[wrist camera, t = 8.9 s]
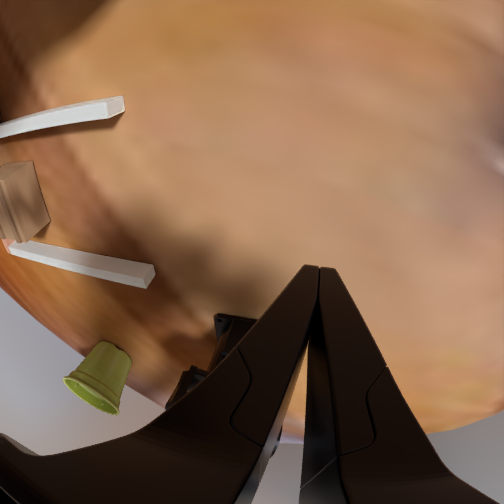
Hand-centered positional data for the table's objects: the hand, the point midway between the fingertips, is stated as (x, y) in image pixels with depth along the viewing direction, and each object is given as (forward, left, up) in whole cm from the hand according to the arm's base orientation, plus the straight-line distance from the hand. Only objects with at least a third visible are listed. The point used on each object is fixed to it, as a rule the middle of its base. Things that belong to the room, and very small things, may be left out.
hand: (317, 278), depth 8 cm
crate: (-5, +29, -12) cm, 32 cm away
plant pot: (-32, +26, -12) cm, 43 cm away
